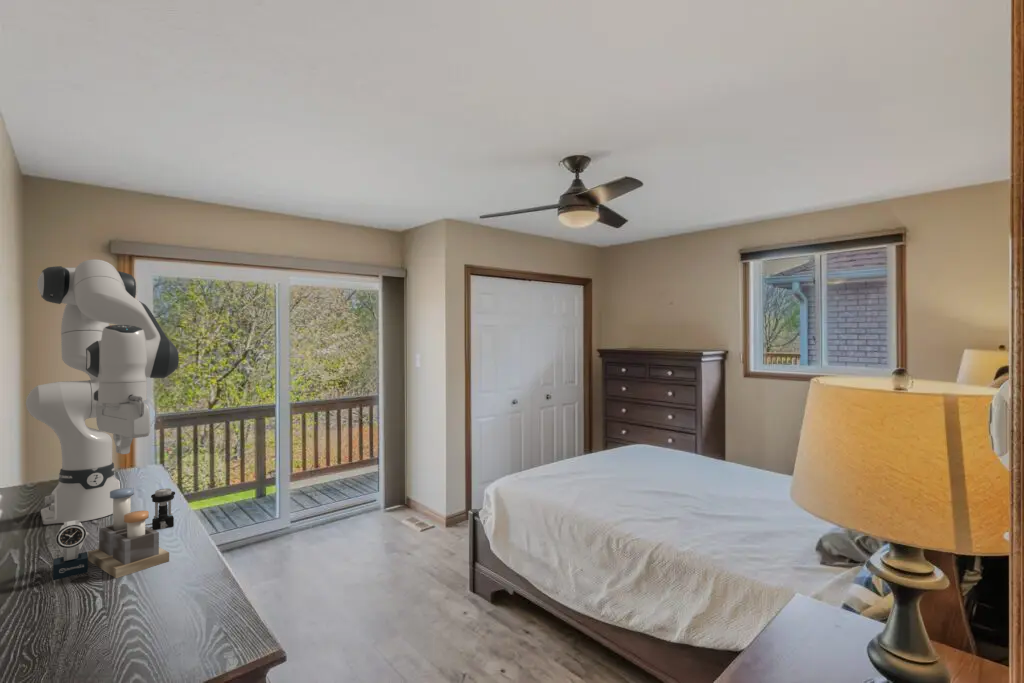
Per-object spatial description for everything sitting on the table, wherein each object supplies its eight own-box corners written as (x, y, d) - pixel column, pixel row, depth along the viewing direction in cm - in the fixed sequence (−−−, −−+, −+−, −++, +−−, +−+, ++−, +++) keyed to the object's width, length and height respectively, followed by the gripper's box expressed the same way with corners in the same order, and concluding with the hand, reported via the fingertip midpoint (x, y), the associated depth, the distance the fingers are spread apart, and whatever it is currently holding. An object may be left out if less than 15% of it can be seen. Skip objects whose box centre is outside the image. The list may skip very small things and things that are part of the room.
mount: (87, 560, 113) (88, 529, 113) (139, 545, 121) (139, 516, 121) (115, 578, 104) (116, 545, 104) (169, 561, 112) (169, 530, 112)
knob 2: (120, 556, 110) (120, 514, 110) (143, 549, 113) (143, 509, 113) (128, 560, 107) (128, 518, 107) (151, 553, 111) (152, 512, 111)
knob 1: (106, 530, 114) (106, 491, 114) (129, 525, 118) (129, 486, 118) (113, 534, 112) (114, 494, 112) (136, 528, 115) (137, 489, 115)
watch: (52, 583, 102) (53, 530, 102) (53, 570, 108) (54, 520, 108) (88, 575, 105) (89, 523, 105) (87, 562, 111) (87, 514, 111)
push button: (144, 533, 128) (145, 495, 129) (144, 527, 133) (144, 490, 133) (175, 528, 133) (175, 491, 133) (174, 522, 137) (174, 486, 137)
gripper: (159, 395, 112) (158, 456, 112) (121, 390, 123) (121, 446, 123) (125, 397, 107) (125, 461, 107) (90, 392, 118) (89, 450, 118)
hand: (122, 453), depth 115 cm, fingers closed
